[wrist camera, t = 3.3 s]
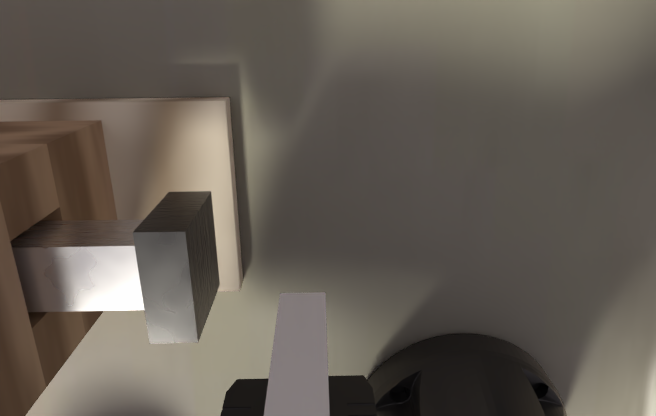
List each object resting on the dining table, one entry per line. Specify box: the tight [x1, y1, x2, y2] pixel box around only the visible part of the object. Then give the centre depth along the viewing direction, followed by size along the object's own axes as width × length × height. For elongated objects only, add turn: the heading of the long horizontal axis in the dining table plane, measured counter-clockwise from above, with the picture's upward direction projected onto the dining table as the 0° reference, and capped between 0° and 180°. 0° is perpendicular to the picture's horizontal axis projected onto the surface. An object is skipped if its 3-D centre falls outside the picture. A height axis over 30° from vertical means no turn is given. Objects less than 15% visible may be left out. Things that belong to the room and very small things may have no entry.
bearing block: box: [0, 97, 243, 416], centre depth 24 cm, size 20×12×14 cm, turn 90°
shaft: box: [10, 191, 220, 344], centre depth 22 cm, size 16×5×5 cm, turn 91°
